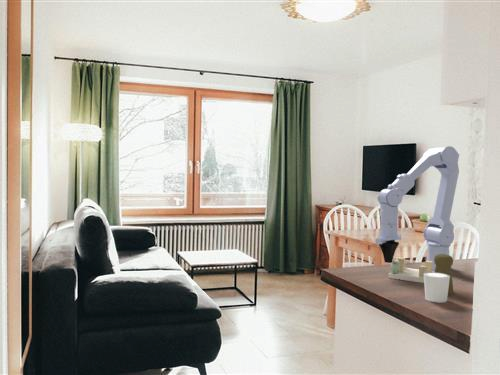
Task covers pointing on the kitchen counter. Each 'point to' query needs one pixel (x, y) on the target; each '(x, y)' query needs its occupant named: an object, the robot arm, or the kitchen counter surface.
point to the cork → (444, 268)
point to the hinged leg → (394, 266)
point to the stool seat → (412, 271)
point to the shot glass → (436, 286)
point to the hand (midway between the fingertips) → (388, 262)
